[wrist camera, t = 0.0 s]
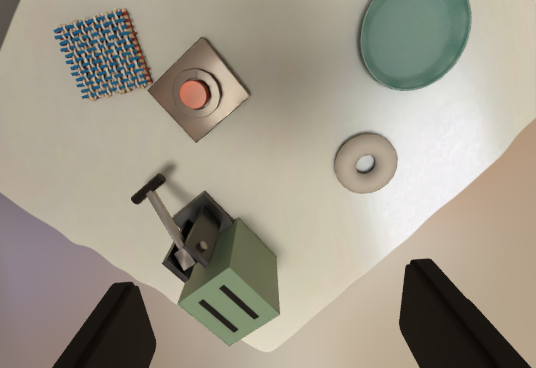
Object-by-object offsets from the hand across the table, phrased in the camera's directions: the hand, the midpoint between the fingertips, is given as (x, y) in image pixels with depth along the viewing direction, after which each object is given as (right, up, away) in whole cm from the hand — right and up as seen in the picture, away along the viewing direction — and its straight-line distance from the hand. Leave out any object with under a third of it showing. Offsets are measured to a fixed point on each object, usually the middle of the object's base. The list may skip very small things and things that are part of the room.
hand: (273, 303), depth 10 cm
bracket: (-12, -2, +41) cm, 43 cm away
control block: (-10, +18, +33) cm, 39 cm away
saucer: (+20, +25, +30) cm, 44 cm away
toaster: (-6, -9, +44) cm, 45 cm away
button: (-10, +17, +29) cm, 35 cm away
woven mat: (-23, +23, +31) cm, 45 cm away
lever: (-14, -2, +33) cm, 36 cm away
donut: (+16, +8, +37) cm, 41 cm away
